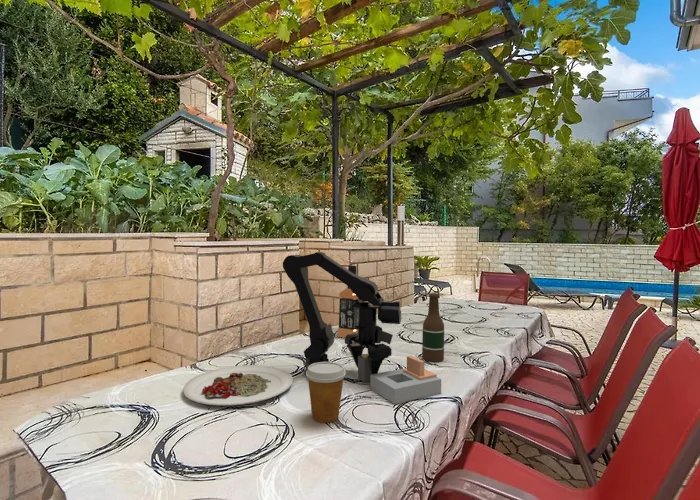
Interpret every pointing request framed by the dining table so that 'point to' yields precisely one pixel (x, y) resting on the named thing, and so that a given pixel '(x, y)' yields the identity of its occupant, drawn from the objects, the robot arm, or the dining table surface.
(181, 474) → the dining table surface
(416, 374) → the shutter
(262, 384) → the plated food
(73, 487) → the dining table surface
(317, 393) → the disposable coffee cup
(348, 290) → the whiskey bottle
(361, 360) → the grey rectangular block
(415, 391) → the socket
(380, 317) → the robot arm
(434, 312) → the beer bottle
